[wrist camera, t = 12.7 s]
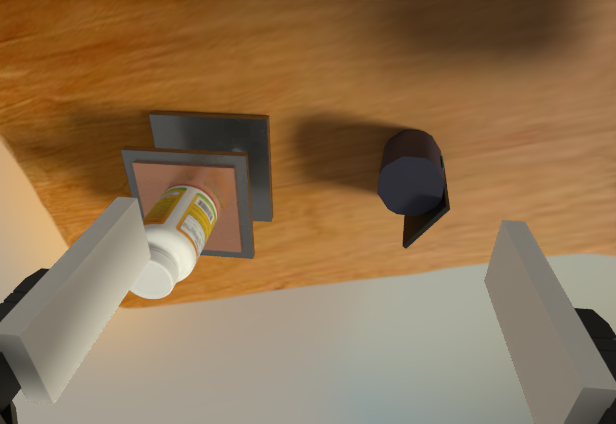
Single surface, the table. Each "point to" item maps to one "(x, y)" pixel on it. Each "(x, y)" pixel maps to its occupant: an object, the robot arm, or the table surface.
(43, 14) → the table surface
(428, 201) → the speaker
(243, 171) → the stand
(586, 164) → the table surface
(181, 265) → the supplement bottle
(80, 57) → the table surface
